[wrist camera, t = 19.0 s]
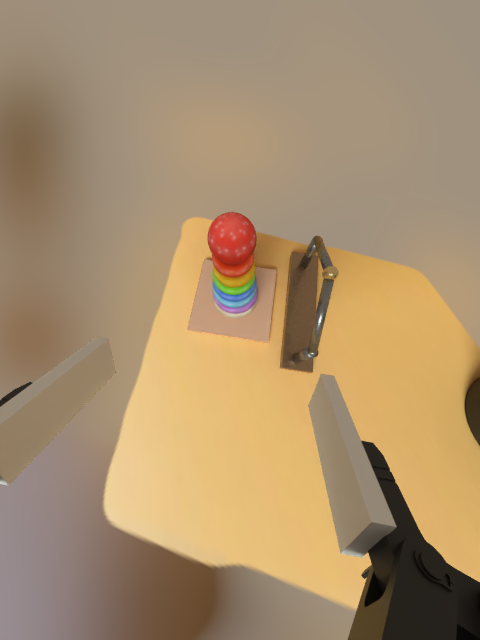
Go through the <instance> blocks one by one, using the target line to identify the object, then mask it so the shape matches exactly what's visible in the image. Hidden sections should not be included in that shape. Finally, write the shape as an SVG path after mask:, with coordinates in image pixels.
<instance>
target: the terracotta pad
mask: <svg viewBox="0 0 480 640" xmlns="http://www.w3.org/2000/svg"><path fill="white" fill-rule="evenodd" d="M212 271H213V262H212V260H206V259H204V261H203V266H202V270H201V274H200V278H199V282H198V287H197V291H196V295H195V299H194V303H193V308H192V312H191V316H190V320H189V324H188V331H194V332H200V333H207V334H213V335H220V336H226V337H232V338H239V339H245V340H252V341H258V342H264V343H268V342H269V333H270V324H271V315H272V307H273V298H274V289H275V280H276V271H277V270H274V269H267V268H260V267H255V274H256V283H257V287H258V302H257V305H256V307H255V308H254V310H253V311H252V312H251V313H250V314H248V315H246V316H244V317H241V318H230V317H227V316H224V315H223V314H221V313H220V312H219V311H218V310H217V309H216V307H215V305H214V303H213V297H212V296H213V290H212V283H213V277H212Z"/></svg>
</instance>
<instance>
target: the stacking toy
mask: <svg viewBox="0 0 480 640" xmlns="http://www.w3.org/2000/svg"><path fill="white" fill-rule="evenodd" d="M208 245H209V248H210V250H211V252H212V262H213V271H212V277H213V283H212V290H213V296H212V297H213V303H214V305H215V307H216V309H217V310H218V311H219V312H220V313H221V314H223V315H224V316H227V317H230V318H241V317H244V316H246V315H248V314H250V313H251V312H252V311H253V310H254V308H255V307H256V305H257V302H258V287H257V283H256V274H255V261H254V253H253V251H254V249H255V246H256V232H255V229H254V226H253V224H252V223H251V222H250V220H249V219H248V218H246V217H245V216H243V215H242V214H239V213H234V212H229V213H225V214H222V215H220V216H218V217H217V218H216V219H215V220H214V221H213V222H212V224H211V226H210V228H209V232H208Z"/></svg>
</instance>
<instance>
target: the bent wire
mask: <svg viewBox="0 0 480 640" xmlns="http://www.w3.org/2000/svg"><path fill="white" fill-rule="evenodd" d="M316 252H318V255H319V258H320V261H321V264H322V267H323V273H322V275H323V278H324V280H323V285H322V289H321V294H320V298H319V302H318V307H317V311H316V291H317V270H318V256H315V253H316ZM337 276H338V270H337V268H336V267H334V266H333V265H332V262H331V260H330V258H329V255H328V253H327V250H326V248H325V246H324V243H323V240H322V238H321V237H320V236H315V237H314V238H313V239H312V241H311V243H310V245H309V247H308V249H307V250H306V252H305V254H302V253H295V252H292V254H291V256H290V266H289V276H288V287H287V298H286V308H285V319H284V330H283V340H282V351H281V362H280V368H282V369H288V370H294V371H301V372H307V373H312V372H313V358H314V357H316V356H317V355H318V346H319V342H320V338H321V334H322V329H323V325H324V321H325V317H326V312H327V308H328V304H329V300H330V295H331V291H332V287H333V283H334V280H335V279H336V278H337ZM315 313H316V316H315Z"/></svg>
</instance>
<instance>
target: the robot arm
mask: <svg viewBox="0 0 480 640" xmlns="http://www.w3.org/2000/svg"><path fill="white" fill-rule="evenodd" d="M115 373H116V371H115V367H114V362H113V358H112V353H111V349H110V344H109V339H107V338H100V337H96V338H94V339H93V340H92V341H90V342H89V343H87V344H86V345H85V346H83V347H82V348H81V349H79V350H78V351H76V352H75V353H74V354H72V355H71V356H70V357H68V358H67V359H66V360H64V361H63V362H61V363H60V364H59V365H57V366H56V367H54V368H53V369H52V370H50V371H49V372H48V373H46V374H45V375H43V376H42V377H41V378H39V379H38V380H37V381H35V382H34V383H31V382H29V383H27V384H26V385H23V386H21V387H19V388H17V389H15V390H13V391H12V392H10V393H9V394H7V395H6V396H5V397H3V398H2V400H0V484H4V485H10V484H11V482H12V481H13V480H14V479H15V478H16V477H17V476H18V475H19V474H20V473H21V472H22V471H23V470H24V469H25V468H26V467H27V465H29V463H31V461H32V460H33V459H34V458H35V457H36V456H37V455H38V454H39V453H40V452H41V451H42V450H43V449H44V448H45V447H46V446H47V445H48V444H49V442H50V441H51V440H52V439H53V438H54V437H55V436H56V435H57V434H58V433H59V432H60V431H61V430H62V429H63V428H64V426H65V425H66V424H67V423H68V422H69V421H70V420H71V419H72V418H73V417H74V416H75V415H76V414H77V413H78V412H79V411H80V410H81V409H82V408H83V407H84V405H85V404H86V403H87V402H88V401H89V400H90V399H91V398H92V397H93V396H94V395H95V394H96V393H97V392H98V391H99V390H100V389H101V387H102V386H103V385H104V384H105V383H106V382H107V381H108V380H109V379H110V378H111V377H112V376H113V375H114V374H115ZM308 406H309V411H310V415H311V420H312V425H313V429H314V434H315V438H316V443H317V447H318V452H319V457H320V461H321V466H322V470H323V475H324V479H325V484H326V489H327V493H328V498H329V502H330V507H331V512H332V516H333V521H334V525H335V530H336V534H337V539H338V544H339V548H340V553H341V554H346V555H351V556H356V557H361V558H362V557H363V556H364V555H365V554H366V553H369V556H370V559H371V563H372V565H371V566H370V567H368V568H367V569H366V570H365V571H364V572H363V574H362V575H361V576H362V577H363V578H364V579H365V578H366V577H367V579H366V582H365V586H364V589H363V592H362V595H361V599H360V602H359V605H358V608H357V611H356V615H355V618H354V621H353V624H352V628H351V631H350V634H349V637H348V640H480V582H478V581H476V580H474V579H473V578H471V577H469V576H467V575H466V574H464V573H462V572H460V571H459V570H457V569H455V568H454V567H452V566H451V565H449V564H448V563H446V561H445V560H444V558H443V557H442V556H441V555H440V554H439V552H438V551H437V550H436V549H435V548H434V547H433V546H432V545H430V544H429V543H427V542H426V540H425V539H424V538H423V536H422V534H421V532H420V530H419V529H418V526H417V524H416V522H415V520H414V518H413V516H412V514H411V512H410V510H409V508H408V506H407V504H406V502H405V500H404V497H403V495H402V493H401V491H400V489H399V487H398V485H397V484H396V483H395V479H394V477H393V475H392V473H391V472H390V468H389V466H388V464H387V462H386V460H385V458H384V456H383V455H382V453H381V452H380V451H379V450H378V448H377V447H376V446H375V445H374V444H373V443H371V442H365V441H361V440H360V437H359V435H358V433H357V430H356V428H355V425H354V423H353V420H352V418H351V416H350V413H349V411H348V408H347V406H346V404H345V401H344V399H343V396H342V394H341V392H340V389H339V387H338V384H337V382H336V380H335V377H334V376H331V375H325V374H321V375H320V377H319V380H318V383H317V385H316V388H315V390H314V393H313V395H312V398H311V400H310V403H309V405H308ZM466 414H467V419H468V423H469V426H470V428H471V431H472V433H473V435H474V437H475V439H476V440H477V442H478V443H479V445H480V378H478V379H477V380H476V381H475V382H474V383H473V384H472V386H471V387H470V389H469V391H468V394H467V398H466Z"/></svg>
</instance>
